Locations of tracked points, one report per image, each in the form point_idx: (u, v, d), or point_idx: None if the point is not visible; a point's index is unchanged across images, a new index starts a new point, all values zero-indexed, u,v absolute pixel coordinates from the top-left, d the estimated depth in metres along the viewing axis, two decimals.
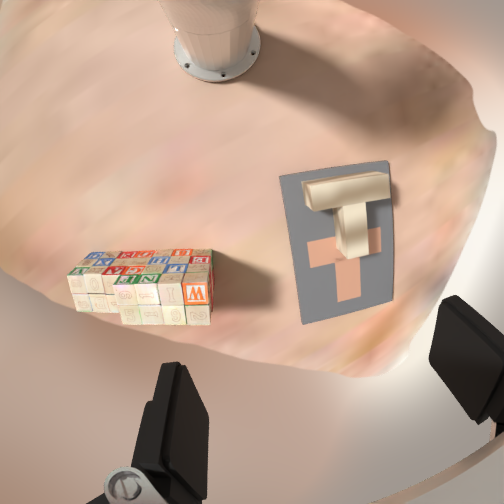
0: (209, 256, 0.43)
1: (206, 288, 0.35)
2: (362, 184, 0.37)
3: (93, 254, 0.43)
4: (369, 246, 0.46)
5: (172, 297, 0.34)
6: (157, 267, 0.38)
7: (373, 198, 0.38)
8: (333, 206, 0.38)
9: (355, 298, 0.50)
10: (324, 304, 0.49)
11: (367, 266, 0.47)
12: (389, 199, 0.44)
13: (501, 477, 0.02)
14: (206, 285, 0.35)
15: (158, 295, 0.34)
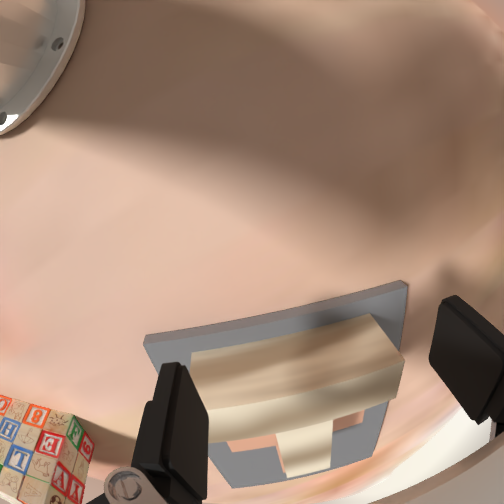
0: (63, 437, 0.18)
1: None
2: (330, 396, 0.14)
3: None
4: (341, 421, 0.23)
5: (17, 502, 0.10)
6: (1, 447, 0.14)
7: (354, 410, 0.15)
8: (251, 436, 0.15)
9: None
10: (262, 475, 0.26)
11: (334, 440, 0.24)
12: None
13: (501, 477, 0.02)
14: None
15: (4, 494, 0.10)
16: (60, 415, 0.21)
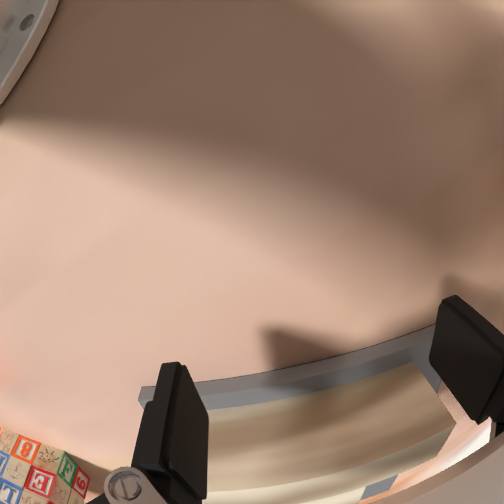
0: (54, 475, 0.14)
1: None
2: (369, 469, 0.09)
3: None
4: None
5: None
6: None
7: (391, 475, 0.10)
8: None
9: None
10: None
11: None
12: None
13: (501, 477, 0.02)
14: None
15: None
16: (50, 451, 0.16)
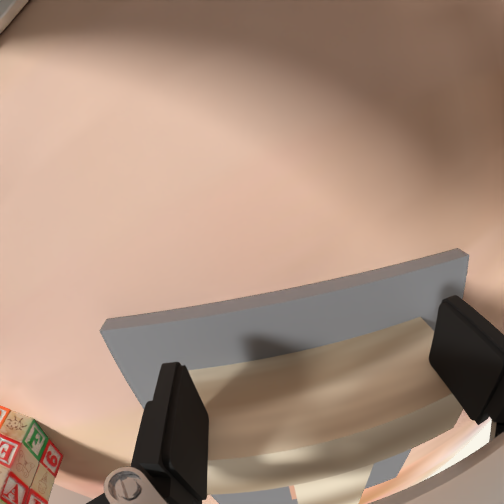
0: (19, 444, 0.12)
1: None
2: (378, 437, 0.08)
3: None
4: None
5: None
6: None
7: (403, 449, 0.09)
8: (260, 488, 0.09)
9: None
10: (266, 502, 0.19)
11: None
12: None
13: (501, 477, 0.02)
14: None
15: None
16: (19, 418, 0.15)
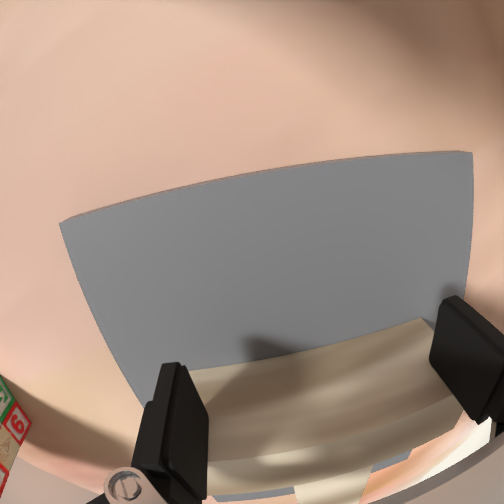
0: None
1: None
2: (378, 438, 0.08)
3: None
4: None
5: None
6: None
7: (403, 450, 0.09)
8: (259, 489, 0.09)
9: None
10: None
11: None
12: (462, 279, 0.12)
13: (501, 477, 0.02)
14: None
15: None
16: None
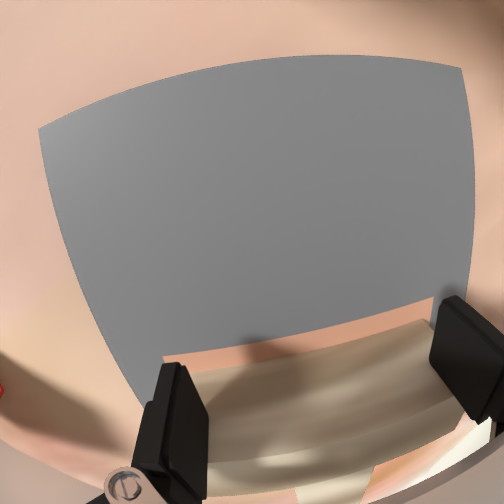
0: None
1: None
2: (379, 439, 0.08)
3: None
4: None
5: None
6: None
7: (404, 451, 0.09)
8: (260, 491, 0.09)
9: None
10: None
11: None
12: (470, 202, 0.10)
13: (501, 477, 0.02)
14: None
15: None
16: None
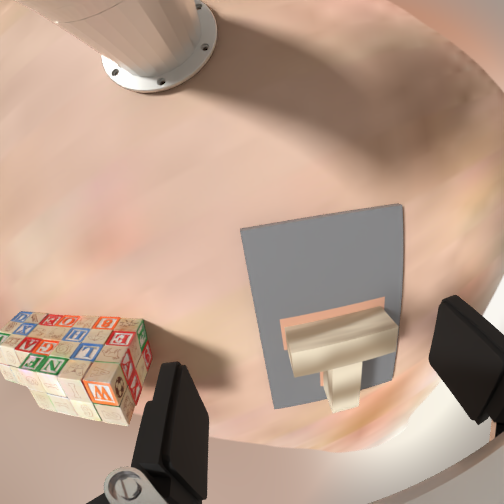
0: (134, 332, 0.30)
1: (111, 390, 0.22)
2: (361, 344, 0.28)
3: (21, 314, 0.31)
4: None
5: (76, 393, 0.22)
6: (68, 346, 0.26)
7: (373, 356, 0.29)
8: (320, 370, 0.29)
9: None
10: (302, 389, 0.36)
11: None
12: (400, 259, 0.31)
13: (501, 477, 0.02)
14: (110, 386, 0.22)
15: (62, 387, 0.22)
16: (130, 320, 0.32)
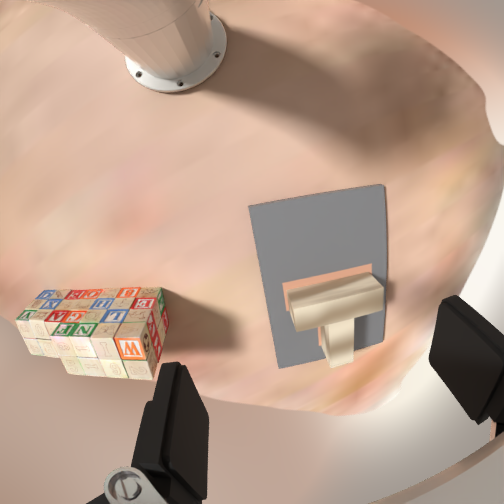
0: (155, 298, 0.36)
1: (140, 344, 0.28)
2: (352, 301, 0.35)
3: (45, 293, 0.37)
4: None
5: (107, 351, 0.28)
6: (96, 313, 0.32)
7: (363, 313, 0.35)
8: (318, 325, 0.35)
9: None
10: (303, 348, 0.43)
11: None
12: (383, 231, 0.37)
13: (501, 477, 0.02)
14: (140, 340, 0.28)
15: (93, 348, 0.28)
16: (150, 289, 0.38)
